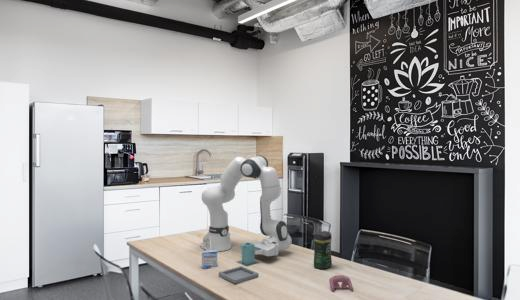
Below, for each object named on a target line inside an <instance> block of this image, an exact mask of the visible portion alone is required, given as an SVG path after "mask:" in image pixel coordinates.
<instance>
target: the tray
mask: <svg viewBox="0 0 520 300" xmlns="http://www.w3.org/2000/svg"><path fill="white" fill-rule="evenodd" d="M218 277H219V278H221V279H223V280H224V281H227V282H229V283H230V284H233V285H238V284H241V283H244V282H248V281H250V280H254V279H257V278H259V272H257V271H254V270H252V269H249V268H247V267H246V266H244V265H240V266H237V267H232V268H231V269H230V268H229V269H225V270H223V271H219V272H218Z"/></svg>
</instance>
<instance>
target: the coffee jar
mask: <svg viewBox="0 0 520 300" xmlns="http://www.w3.org/2000/svg"><path fill="white" fill-rule="evenodd" d="M332 241H333V239H332V233H331V232H330V231H327V230H323V231H320V232H319V231H318V232H316V233H314V234H313V242H314V252H313V267H314V268H316V269H318V270H326V269H329V268H331V267H332V265H333V263H332V262H333V261H332Z"/></svg>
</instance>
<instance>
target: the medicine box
mask: <svg viewBox="0 0 520 300" xmlns="http://www.w3.org/2000/svg"><path fill="white" fill-rule="evenodd" d="M201 267H202V269H203V270H207V269H208V270H209V269H212V268H215V267H216V268H217V267H218V251H217V250H201Z"/></svg>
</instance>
